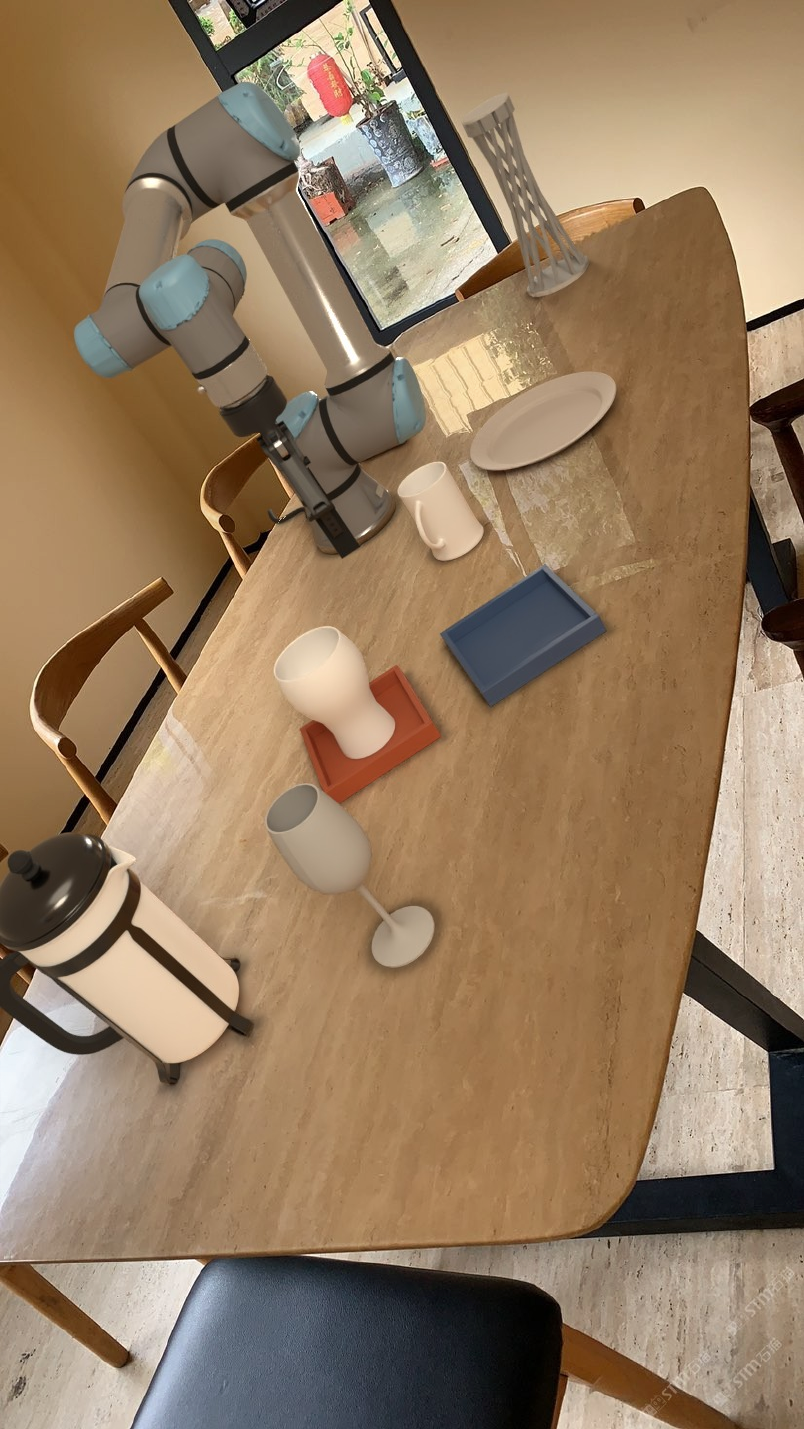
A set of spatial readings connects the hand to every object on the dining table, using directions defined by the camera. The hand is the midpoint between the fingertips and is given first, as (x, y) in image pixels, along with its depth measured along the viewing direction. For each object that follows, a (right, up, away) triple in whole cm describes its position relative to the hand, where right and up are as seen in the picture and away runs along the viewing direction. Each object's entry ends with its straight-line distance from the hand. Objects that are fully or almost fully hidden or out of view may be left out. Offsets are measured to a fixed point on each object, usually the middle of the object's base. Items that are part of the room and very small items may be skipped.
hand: (338, 531), depth 133 cm
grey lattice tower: (+41, +66, +82) cm, 113 cm away
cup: (+4, -26, 0) cm, 27 cm away
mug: (+16, +1, +24) cm, 29 cm away
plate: (+32, +23, +37) cm, 54 cm away
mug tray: (+23, -14, -1) cm, 27 cm away
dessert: (+5, +29, +67) cm, 73 cm away
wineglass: (+8, -46, -27) cm, 54 cm away
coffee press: (-14, -57, -21) cm, 63 cm away
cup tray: (+4, -26, 0) cm, 27 cm away
